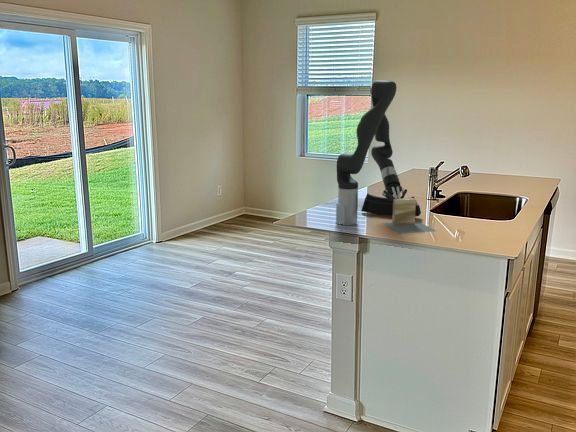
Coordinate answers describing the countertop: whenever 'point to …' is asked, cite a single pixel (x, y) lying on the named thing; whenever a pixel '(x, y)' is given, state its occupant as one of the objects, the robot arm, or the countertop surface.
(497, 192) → the countertop surface
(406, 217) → the oak tile
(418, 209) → the magazine
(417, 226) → the rubber mat
